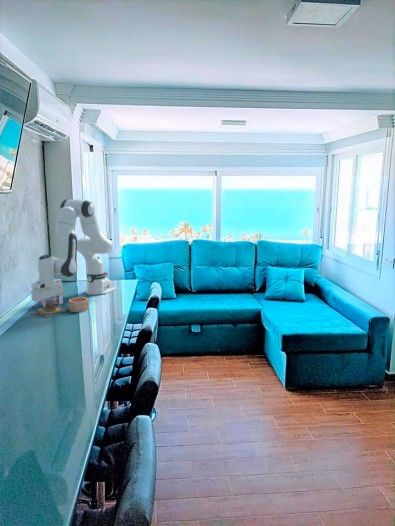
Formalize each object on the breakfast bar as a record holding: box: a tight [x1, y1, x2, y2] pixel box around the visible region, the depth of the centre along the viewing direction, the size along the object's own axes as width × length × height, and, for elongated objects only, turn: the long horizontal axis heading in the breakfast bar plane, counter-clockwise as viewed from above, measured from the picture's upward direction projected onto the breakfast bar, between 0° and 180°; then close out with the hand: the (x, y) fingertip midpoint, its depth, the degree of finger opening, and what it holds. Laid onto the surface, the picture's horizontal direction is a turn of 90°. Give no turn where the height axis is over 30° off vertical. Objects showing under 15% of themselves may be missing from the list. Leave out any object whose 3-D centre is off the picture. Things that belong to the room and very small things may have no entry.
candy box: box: [36, 278, 64, 306], centre depth 234 cm, size 14×6×16 cm, turn 84°
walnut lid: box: [36, 302, 63, 315], centre depth 220 cm, size 14×14×5 cm
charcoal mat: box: [30, 307, 69, 319], centre depth 221 cm, size 15×15×1 cm
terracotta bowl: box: [68, 296, 89, 313], centre depth 226 cm, size 11×11×6 cm
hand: (49, 304), depth 220 cm, fingers open, 4 cm apart
